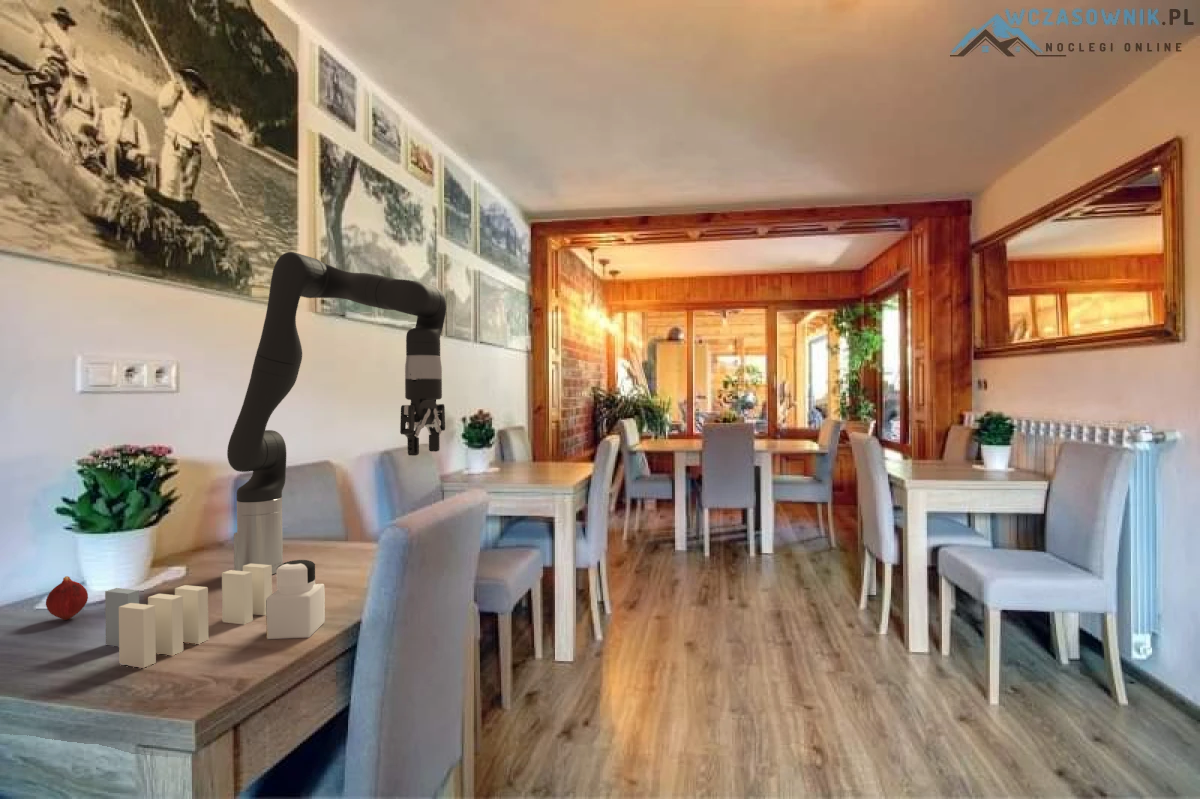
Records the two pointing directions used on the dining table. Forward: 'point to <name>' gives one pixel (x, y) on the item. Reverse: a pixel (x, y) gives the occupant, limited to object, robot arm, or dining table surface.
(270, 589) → the domino
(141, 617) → the domino
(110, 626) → the domino
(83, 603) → the onion
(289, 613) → the medicine bottle
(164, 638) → the domino
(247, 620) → the domino
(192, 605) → the domino
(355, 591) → the dining table surface
